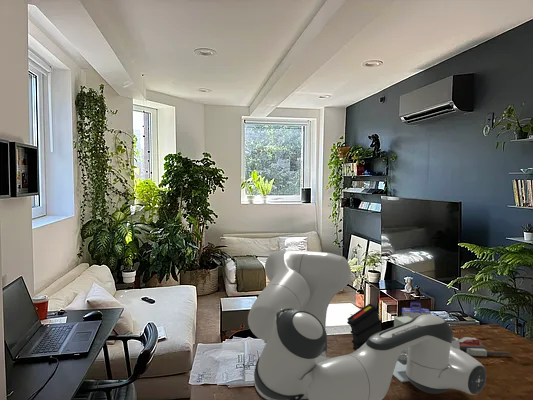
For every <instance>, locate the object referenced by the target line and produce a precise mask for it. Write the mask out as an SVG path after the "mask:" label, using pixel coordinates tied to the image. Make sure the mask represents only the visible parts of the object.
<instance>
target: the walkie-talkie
mask: <svg viewBox="0 0 533 400" xmlns="http://www.w3.org/2000/svg"><path fill="white" fill-rule="evenodd" d="M456 338H457V339H459V338H458V337H456ZM459 345H460V350H461V351H463V352H465V353H467V354H468V355H470V356H472V357H473V356H474V357H484V358H485V357H487V356H490V355H494V356H497V355H498V356H499V355H500V356H501V355H511V352H509V351H497V350H496V351H494V350H487V349H486V346H485V345H484V344H483V343H482V342H481V341H480V340H479V339H477V338H476V337H469V336H464V337H462V338H460V339H459Z"/></svg>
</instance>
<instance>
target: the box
mask: <svg viewBox="0 0 533 400" xmlns="http://www.w3.org/2000/svg"><path fill="white" fill-rule="evenodd" d="M410 320H412V318H411V317H409V316H404V317H402V316H396V317H394V318H393V327H395V326H397V325H400V324H403V323H406V322H409V321H410ZM397 361H399V362H400V363H401V364H403V365H406V364H407V360H401V359H398V360H397Z"/></svg>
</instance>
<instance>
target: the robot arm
mask: <svg viewBox="0 0 533 400" xmlns="http://www.w3.org/2000/svg"><path fill="white" fill-rule="evenodd" d="M264 263H265V264H264V271H265V275H266V277H267V280H268V281H269V283H268V284H267V285H266V286H265V288H263V289H262V291H260V293H259V295H258V296H257V297H256V299H255V300H254V302H253V304H252V306H251V307H250V310H249V312H248V315H247V324H248V327H249V329H250V331H251V332H252V334H253V335H254V336H255V337H256V338H258V339H260V340H262V341H263V342H264V344H265V345H264V347H263V349H262V351H261V352H260V353H261V354H260V356H259V357H258V358H257V361H256V364H255V366H254V370H253V371H254V373H253V379H254V381H255V383H254V387H255V390H256V391H257V393H258V394H259V395H260V396H261V398H262V399H263V398H264V399H265V400H383V399H384V398H385V397H386V395H387V393H388V391H389V389H390V386H391V383H392V378H393V377H394V376H393V372H394V369H395V366H396V363H397V360H398V359H401V360H407V365H406V376H407V378H408V379H409V381H408V382H410V383H411V384H412V385H413V387H415V388H417V389H418V390H420V391H422V392H423V393H426V394H429V395H430V394H432V395H433V394H434V395H438V394H442V393H444V392H447V391H450V390H458V391H460V392H464V393H466V394H468V395H473V396H475V395H478V394H480V393H481V392H482V390H483V389H484V387H485V385H486V382H487V372H486V368H485V367H484V365H483V364H482V363H481V362H480V361H479V360H477V359H476V358H475V357H473V356H472V355H469V354H467V353H465V352H463V351H461V350H460V345H459V340H460V339H459V338H458V337H454V333H455V332H454V330H453V329H452V326H450V324H449V322H448V321H447V320H446V319H445V318H443V317H441V316H438V315H433V314H431V315H430V314H423V315H419V316H416V317H415V318H413V319H412V320H410V321H409V322H406V323H403V324H400V325H397V326H395V327H394V326H392V327H390V328H386V329H385V330H384V329H383V330H382V331H381V332H378V333H376V334H374V335H372V336H370V338H369V339H368V340H367V341H366V342H365V343H364V344H363V345H362V346H361V347H360V348H359V349H356V350H354V351H353V352H351V353H348V354H344V355H339V356H334V357H327V353H328V337H327V336H328V334H327V330H326V325H327V323H326V322H327V321H326V320H327V312H328V307H329V305H330V303H331V301H332V299H333V298H334V297H335V296H336V295H338V294H339V293H340V292H341V291H343V290H344V289H345V288H346V287H347V285H349V283H350V280H351V275H352V271H351V270H352V269H351V267H350V264H349V262H348V260H347V259H346V257H345V256H342V255H339V254H335V253H332V252H326V251H324V252H323V251H312V250H311V251H309V250H297V249H282V250H274V251H272V252H271V253H270V254H269V255H268V257H267V258H266V260H265V262H264ZM457 338H458V339H457Z"/></svg>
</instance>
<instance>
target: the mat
mask: <svg viewBox="0 0 533 400" xmlns="http://www.w3.org/2000/svg"><path fill="white" fill-rule="evenodd" d="M406 365H407V364H406ZM406 365H403V364H401V363H400V362H399V361H397V363H396V366H395V369H394V372H393V376H392V377H395V379H396V380H398V381H400V383H406V382H410V381H409V379H408V378H407V376H406Z"/></svg>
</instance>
